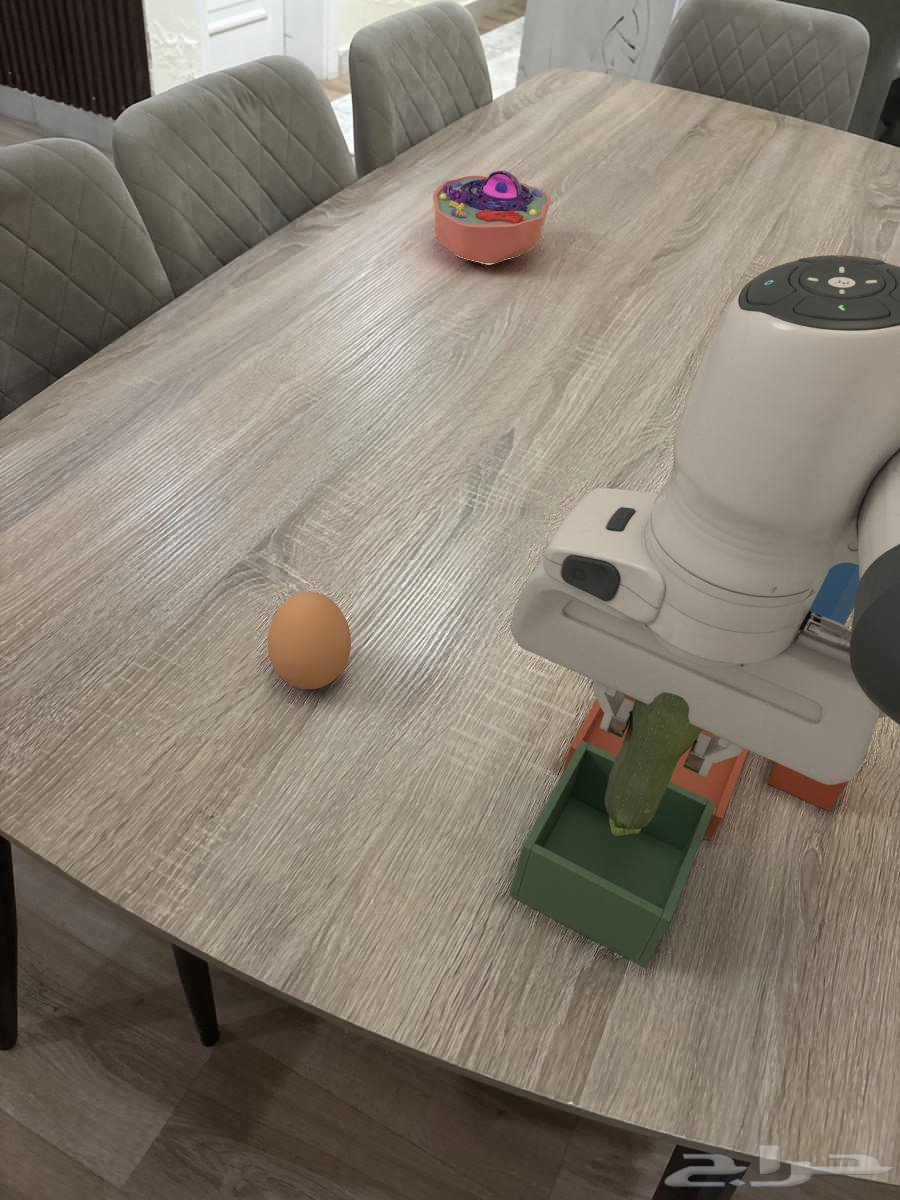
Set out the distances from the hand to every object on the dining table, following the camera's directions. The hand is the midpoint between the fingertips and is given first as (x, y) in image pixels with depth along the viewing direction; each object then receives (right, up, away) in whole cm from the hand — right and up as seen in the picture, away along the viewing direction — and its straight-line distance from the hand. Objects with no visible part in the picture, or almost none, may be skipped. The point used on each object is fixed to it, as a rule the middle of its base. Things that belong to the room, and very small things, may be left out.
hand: (654, 745), depth 57 cm
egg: (-24, +2, +21) cm, 32 cm away
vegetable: (-1, -6, +6) cm, 9 cm away
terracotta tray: (+4, -4, +18) cm, 19 cm away
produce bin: (-2, -11, +10) cm, 15 cm away
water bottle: (+17, +5, +30) cm, 35 cm away
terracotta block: (+16, -5, +19) cm, 25 cm away
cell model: (-7, +61, +84) cm, 104 cm away
